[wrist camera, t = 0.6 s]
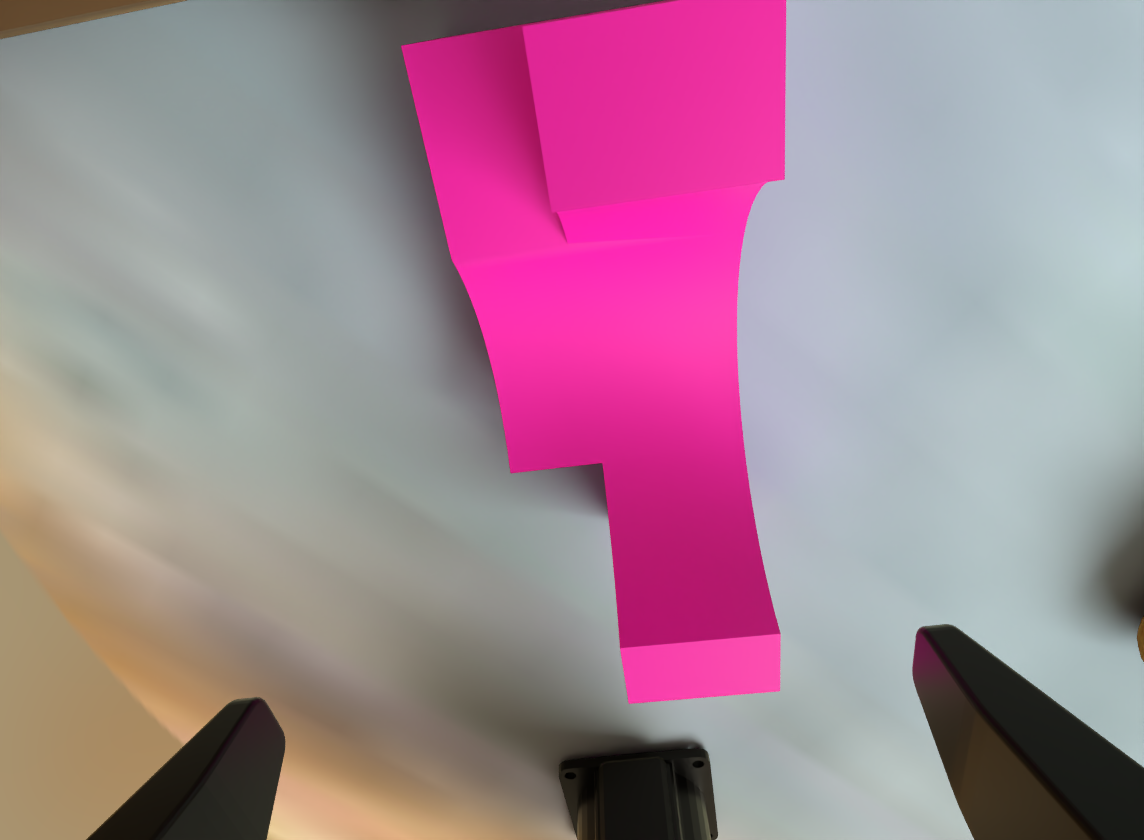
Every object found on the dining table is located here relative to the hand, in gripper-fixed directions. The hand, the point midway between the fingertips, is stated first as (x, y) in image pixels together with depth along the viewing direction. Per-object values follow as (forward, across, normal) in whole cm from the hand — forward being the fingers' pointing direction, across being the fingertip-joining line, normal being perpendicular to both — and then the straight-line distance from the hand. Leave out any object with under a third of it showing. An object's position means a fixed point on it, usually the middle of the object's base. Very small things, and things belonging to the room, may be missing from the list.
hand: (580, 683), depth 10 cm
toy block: (+13, -1, 0) cm, 13 cm away
